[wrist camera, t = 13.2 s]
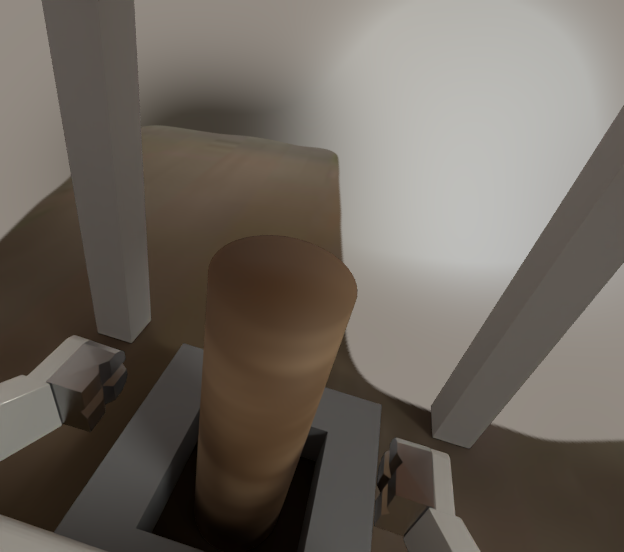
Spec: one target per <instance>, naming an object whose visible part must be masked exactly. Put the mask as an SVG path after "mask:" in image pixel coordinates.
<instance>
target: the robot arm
mask: <svg viewBox="0 0 624 552" xmlns="http://www.w3.org/2000/svg"><path fill="white" fill-rule="evenodd" d="M125 359H126V358H125V352H124V351H121V350H118V349H115V348H112V347H109V346H106V345H103V344H100V343H97V342H94V341H92V340H89V339H85V338H82V337H79V336H76V335H73V336H71V337H69V338H67V339H66V340H65V341H64V342H63V343H62V344H61V345H59V346H58V347H57V348H56V349H55V350H54V351H53V352H52V353H51V354H50V355H49V356H48V357H47V358H46V359H45V360H43V361H42V362H41V363H40V364H39V365H38V366H37V367H36V368H35V369H34V370H33V371H32V372H31V373H30V374H29V375H27V376H25V375H20V376H17V377H15V378H12V379H9V380H7V381H4V382H2V383H0V461H2V460H3V459H5V458H7V457H9V456H10V455H12V454H14V453H16V452H17V451H19V450H21V449H22V448H24V447H26V446H28V445H29V444H31V443H33V442H34V441H36V440H38V439H40V438H41V437H43V436H45V435H46V434H48V433H50V432H52V431H53V430H55V429H57V428H58V427H60V426H62V424H65V425H68V426H72V427H75V428H78V429H82V430H85V431H88V432H91V431H92V429H93V428H94V427H95V426H96V424H97V423H98V422H99V420H100V419H101V418H102V416H103V415H104V414H105V413H106V404H107V403H109V402H112V401H114V400H116V398H117V397H118V395H119V394H120V393H121V391H122V389H123V387H124V385H125V383H126V379H127V369H126V368H125V366H124V365H123V364H122V363H123V362H124V361H125ZM377 486H378V488H379V490H380V492H381V493H380V494H379V496H378V498H377V499H376V501H375V515H374V526H375V527H378V528H381V529H384V530H386V531H389V532H392V533H395V534H397V535H400V536H403V537H404V538H403V539H404V542H405V545H406V547H407V550H408V552H480V550H479V548H478V546H477V545H476V543H475V541H474V540H473V538H472V536H471V534H470V533H469V531H468V529H467V528H466V526H465V524H464V523H463V521H462V519H461V518H460V517H457V516H455V507H454V496H453V485H452V474H451V463H450V457H449V455H448V454H447V453H444V452H441V451H437V450H434V449H431V448H429V447H426V446H423V445H420V444H416V443H413V442H410V441H406V440H403V439H400V438H396V437H395V438H393V440H392V441H391V443H390V451H386V452H385V453H384V455H383V457H382V459H381V462H380V465H379V469H378V475H377ZM0 552H108V551H105V550H102V549H99V548H96V547H93V546H90V545H88V544H85V543H82V542H79V541H76V540H73V539H70V538H67V537H65V536H62V535H59V534H56V533H53V532H50V531H47V530H44V529H42V528H39V527H36V526H33V525H30V524H27V523H24V522H21V521H18V520H16V519H13V518H10V517H7V516H4V515H1V514H0Z"/></svg>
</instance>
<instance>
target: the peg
mask: <svg viewBox="0 0 624 552" xmlns="http://www.w3.org/2000/svg"><path fill="white" fill-rule="evenodd" d="M356 299H357V285H356V282H355V279H354V277H353V275H352V273H351V272H350V271H349V269H348V268H347V267H346V265H345V264H344V263H343V262H342V261H340V260H339V259H338V258H337V257H336V256H334V255H333V254H331V253H330V252H328V251H326V250H325V249H323V248H321V247H319V246H316V245H314V244H312V243H309V242H306V241H303V240H299V239H295V238H290V237H285V236H274V235H260V236H252V237H246V238H242V239H239V240H236V241H234V242H231V243H229V244H227V245H226V246H224V247H223V248H221V249H220V250H219V251H218V252H217V253H216V254H215V255H214V257H213V258H212V260H211V262H210V265H209V269H208V283H207V300H206V316H205V333H204V350H203V367H202V384H201V401H200V418H199V435H198V452H197V469H196V485H195V502H194V516H195V521H196V525H197V527H198V530H199V532H200V533H201V535H202V536H203V538H204V539H205V540H206V541H207V542H208V543H209V544H210V545H212V546H213V547H215V548H217V549H219V550H221V551H225V552H243V551H247V550H250V549H252V548H254V547H256V546H258V545H259V544H261V543H262V542H263V541H264V540H265V539H266V538H267V537H268V536H269V535H270V533H271V532H272V530H273V529H274V527H275V525H276V523H277V520H278V517H279V514H280V512H281V509H282V506H283V503H284V500H285V498H286V495H287V492H288V489H289V486H290V484H291V481H292V478H293V475H294V472H295V470H296V467H297V464H298V461H299V458H300V456H301V453H302V450H303V447H304V444H305V442H306V439H307V436H308V433H309V431H310V428H311V425H312V422H313V419H314V417H315V414H316V411H317V408H318V405H319V403H320V400H321V397H322V394H323V391H324V389H325V386H326V383H327V380H328V377H329V375H330V372H331V369H332V366H333V363H334V361H335V358H336V355H337V352H338V349H339V347H340V344H341V341H342V338H343V336H344V333H345V330H346V327H347V324H348V321H349V319H350V316H351V313H352V310H353V308H354V304H355V302H356Z"/></svg>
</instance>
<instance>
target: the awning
mask: <svg viewBox="0 0 624 552" xmlns="http://www.w3.org/2000/svg"><path fill="white" fill-rule="evenodd" d="M42 5H43V11H44V17H45V22H46V29H47V35H48V40H49V47H50V53H51V58H52V64H53V70H54V76H55V82H56V88H57V93H58V100H59V106H60V112H61V117H62V124H63V129H64V136H65V141H66V147H67V153H68V159H69V165H70V171H71V177H72V183H73V189H74V195H75V201H76V207H77V213H78V219H79V224H80V230H81V236H82V242H83V248H84V254H85V260H86V266H87V272H88V278H89V284H90V290H91V296H92V302H93V307H94V313H95V319H96V325H97V331H98V333H100V334H103V335H107V336H110V337H113V338H116V339H119V340H123V341H126V342H129V343H132V342H133V341H134V340H135V339H136V337H137V336H138V335H139V334H140V333H141V332H142V330H143V329H144V328H145V327H146V326H147V324H148V323H149V322H150V321H151V308H150V289H149V270H148V252H147V233H146V214H145V196H144V177H143V158H142V140H141V121H140V103H139V84H138V65H137V48H136V28H135V9H134V0H42ZM623 263H624V106H623V107H622V109H621V110H620V112H619V113H618V115H617V117H616V118H615V120H614V121H613V123H612V124H611V126H610V128H609V129H608V131H607V132H606V134H605V135H604V137H603V138H602V140H601V142H600V143H599V145H598V146H597V148H596V149H595V151H594V152H593V154H592V156H591V157H590V159H589V160H588V162H587V163H586V165H585V167H584V168H583V170H582V171H581V173H580V174H579V176H578V178H577V179H576V181H575V182H574V184H573V185H572V187H571V188H570V190H569V192H568V193H567V195H566V196H565V198H564V199H563V201H562V203H561V204H560V206H559V207H558V209H557V210H556V212H555V213H554V215H553V217H552V218H551V220H550V221H549V223H548V225H547V226H546V228H545V229H544V231H543V232H542V234H541V235H540V237H539V238H538V240H537V242H536V243H535V245H534V246H533V248H532V249H531V251H530V252H529V254H528V256H527V257H526V259H525V260H524V262H523V263H522V265H521V266H520V268H519V270H518V271H517V273H516V274H515V276H514V277H513V279H512V281H511V282H510V284H509V285H508V287H507V289H506V290H505V292H504V293H503V295H502V296H501V298H500V299H499V301H498V302H497V304H496V306H495V307H494V309H493V311H492V312H491V313H490V315H489V317H488V318H487V320H486V321H485V323H484V324H483V326H482V327H481V329H480V331H479V332H478V334H477V335H476V337H475V338H474V340H473V342H472V343H471V345H470V346H469V348H468V349H467V351H466V352H465V354H464V355H463V357H462V359H461V360H460V362H459V363H458V365H457V367H456V368H455V370H454V371H453V373H452V374H451V376H450V378H449V379H448V381H447V382H446V384H445V385H444V387H443V388H442V390H441V391H440V393H439V395H438V396H437V398H436V399H435V401H434V402H433V404H432V405H431V417H432V437H433V438H436V439H439V440H443V441H446V442H449V443H452V444H455V445H459V446H462V447H465V448H468V449H470V448H471V447H472V445H473V444H474V443H475V442H476V441H477V439H478V438H479V437H480V436H481V435H482V433H483V432H484V431H485V430H486V428H487V427H488V426H489V425H490V424H491V422H492V421H493V420H494V419H495V418H496V416H497V415H498V414H499V413H500V412H501V410H502V409H503V408H504V406H505V405H506V404H507V403H508V402H509V401H510V399H511V398H512V397H513V396H514V395H515V393H516V392H517V391H518V390H519V389H520V387H521V386H522V385H523V384H524V383H525V381H526V380H527V379H528V378H529V376H530V375H531V374H532V373H533V372H534V370H535V369H536V368H537V367H538V365H539V364H540V363H541V362H542V361H543V360H544V358H545V357H546V356H547V355H548V353H549V352H550V351H551V350H552V349H553V347H554V346H555V345H556V344H557V343H558V341H559V340H560V339H561V338H562V336H563V335H564V334H565V333H566V332H567V330H568V329H569V328H570V327H571V326H572V324H573V323H574V322H575V321H576V320H577V318H578V317H579V316H580V315H581V314H582V312H583V311H584V310H585V309H586V307H587V306H588V305H589V304H590V303H591V301H592V300H593V299H594V298H595V296H596V295H597V294H598V293H599V292H600V291H601V289H602V288H603V287H604V286H605V284H606V283H607V282H608V281H609V280H610V278H611V277H612V276H613V275H614V273H615V272H616V271H617V270H618V269H619V268H620V266H621V265H622V264H623ZM203 350H204V349H200V348H197V347H194V346H191V345H187V344H184V343H183V344H182V346H181V347H180V349H179V350H178V352H177V353H176V355H175V356H174V358H173V359H172V360H171V362H170V363H169V365H168V366H167V368H166V369H165V371H164V372H163V374H162V375H161V376H160V378H159V379H158V381H157V382H156V384H155V385H154V387H153V388H152V390H151V391H150V392H149V394H148V395H147V397H146V398H145V400H144V401H143V403H142V404H141V406H140V407H139V409H138V410H137V411H136V413H135V414H134V416H133V417H132V419H131V420H130V422H129V423H128V425H127V426H126V427H125V429H124V430H123V432H122V433H121V435H120V436H119V438H118V439H117V441H116V442H115V444H114V445H113V446H112V448H111V449H110V451H109V452H108V454H107V455H106V457H105V458H104V460H103V461H102V462H101V464H100V465H99V467H98V468H97V470H96V471H95V473H94V474H93V476H92V477H91V479H90V480H89V481H88V483H87V484H86V486H85V487H84V489H83V490H82V492H81V493H80V495H79V496H78V497H77V499H76V500H75V502H74V503H73V505H72V506H71V508H70V509H69V511H68V512H67V514H66V515H65V516H64V518H63V519H62V521H61V522H60V524H59V525H58V527H57V528H56V530H55V531H54V532H53V533H56V534H59V535H62V536H65V537H67V538H70V539H73V540H76V541H79V542H82V543H85V544H88V545H90V546H93V547H96V548H99V549H102V550H105V551H108V552H205V551H202V550H199V549H196V548H193V547H190V546H187V545H184V544H181V543H178V542H175V541H172V540H169V539H166V538H163V537H160V536H157V535H154V534H151V533H152V531H153V529H154V527H155V525H156V523H157V521H158V519H159V517H160V515H161V513H162V511H163V509H164V507H165V505H166V503H167V501H168V499H169V497H170V495H171V493H172V491H173V489H174V487H175V485H176V483H177V481H178V479H179V477H180V475H181V473H182V471H183V469H184V467H185V465H186V463H187V461H188V459H189V457H190V455H191V453H192V451H193V449H194V447H195V445H196V443H197V441H198V435H199V418H200V401H201V384H202V367H203ZM381 407H382V405H381V404H378V403H374V402H371V401H368V400H365V399H362V398H358V397H355V396H352V395H349V394H345V393H342V392H339V391H336V390H333V389H329V388H326V387H325V389H324V391H323V394H322V397H321V400H320V403H319V405H318V408H317V411H316V414H315V417H314V419H313V422H312V425H311V428H310V431H309V433H308V436H307V439H306V442H305V444H304V447H303V450H302V453H301V457H304V458H307V459H310V460H313V461H316V463H315V468H314V473H313V478H312V482H311V487H310V492H309V497H308V501H307V506H306V511H305V515H304V520H303V525H302V530H301V534H300V539H299V544H298V549H297V552H371V541H372V528H373V514H374V501H375V488H376V474H377V461H378V447H379V434H380V421H381Z"/></svg>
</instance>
